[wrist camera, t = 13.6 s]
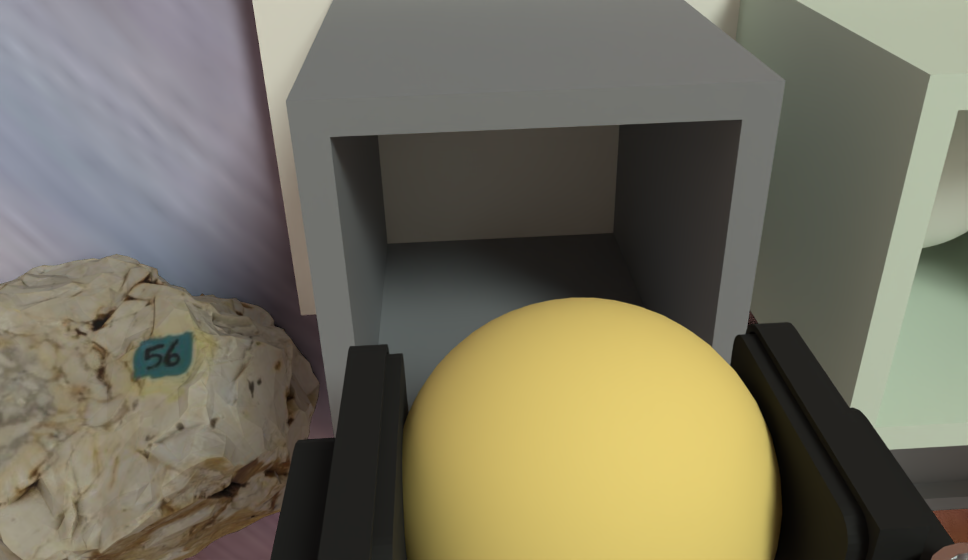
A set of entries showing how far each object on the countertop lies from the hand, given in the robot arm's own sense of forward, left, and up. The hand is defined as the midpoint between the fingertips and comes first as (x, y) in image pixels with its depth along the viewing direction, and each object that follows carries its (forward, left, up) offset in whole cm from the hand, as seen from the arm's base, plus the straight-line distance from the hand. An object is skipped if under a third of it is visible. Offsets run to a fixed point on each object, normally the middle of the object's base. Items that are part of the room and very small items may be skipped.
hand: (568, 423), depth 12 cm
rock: (+12, +6, -14) cm, 19 cm away
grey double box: (-5, 0, -13) cm, 14 cm away
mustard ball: (0, 0, -1) cm, 1 cm away
